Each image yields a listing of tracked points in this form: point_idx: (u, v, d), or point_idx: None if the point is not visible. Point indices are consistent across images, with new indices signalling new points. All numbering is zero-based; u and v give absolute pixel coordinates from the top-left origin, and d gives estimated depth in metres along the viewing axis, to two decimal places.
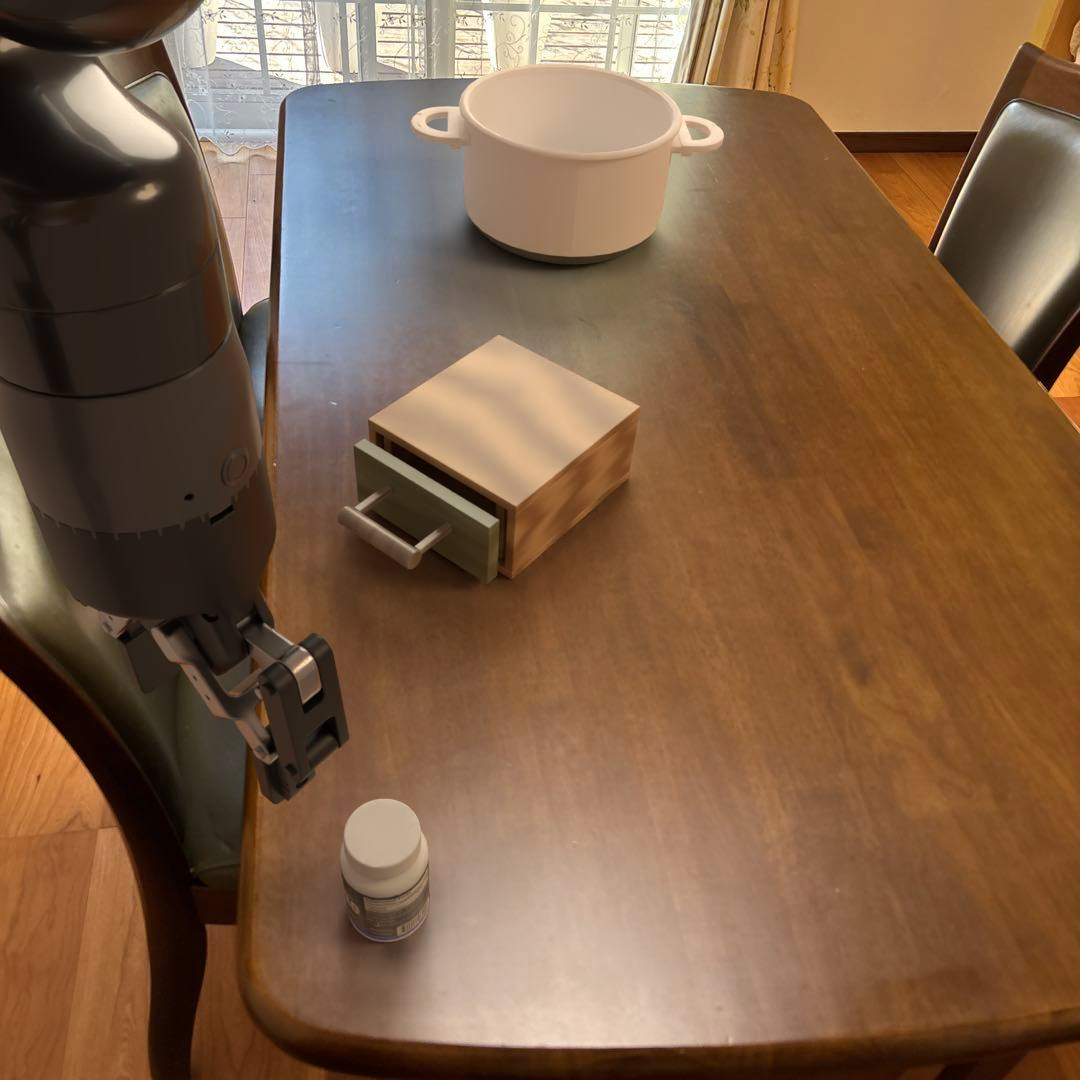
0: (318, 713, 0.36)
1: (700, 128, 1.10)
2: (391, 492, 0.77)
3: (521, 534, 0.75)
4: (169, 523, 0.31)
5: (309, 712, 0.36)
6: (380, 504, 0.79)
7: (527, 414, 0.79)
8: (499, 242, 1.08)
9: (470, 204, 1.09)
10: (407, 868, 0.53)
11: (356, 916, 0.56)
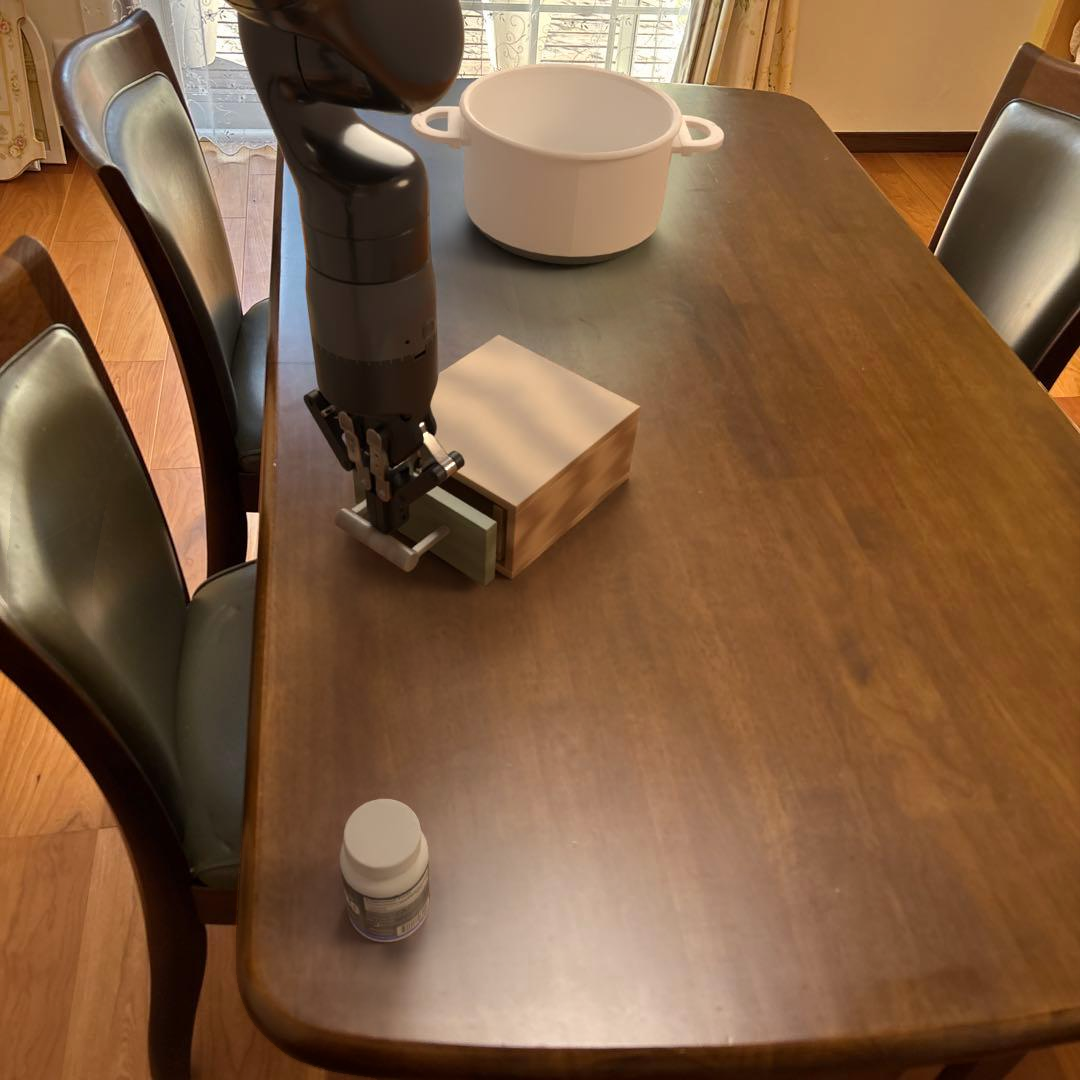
0: None
1: (700, 128, 1.10)
2: None
3: (521, 534, 0.75)
4: (396, 356, 0.59)
5: None
6: None
7: (527, 414, 0.79)
8: (499, 242, 1.08)
9: (470, 204, 1.09)
10: (407, 868, 0.53)
11: (356, 916, 0.56)
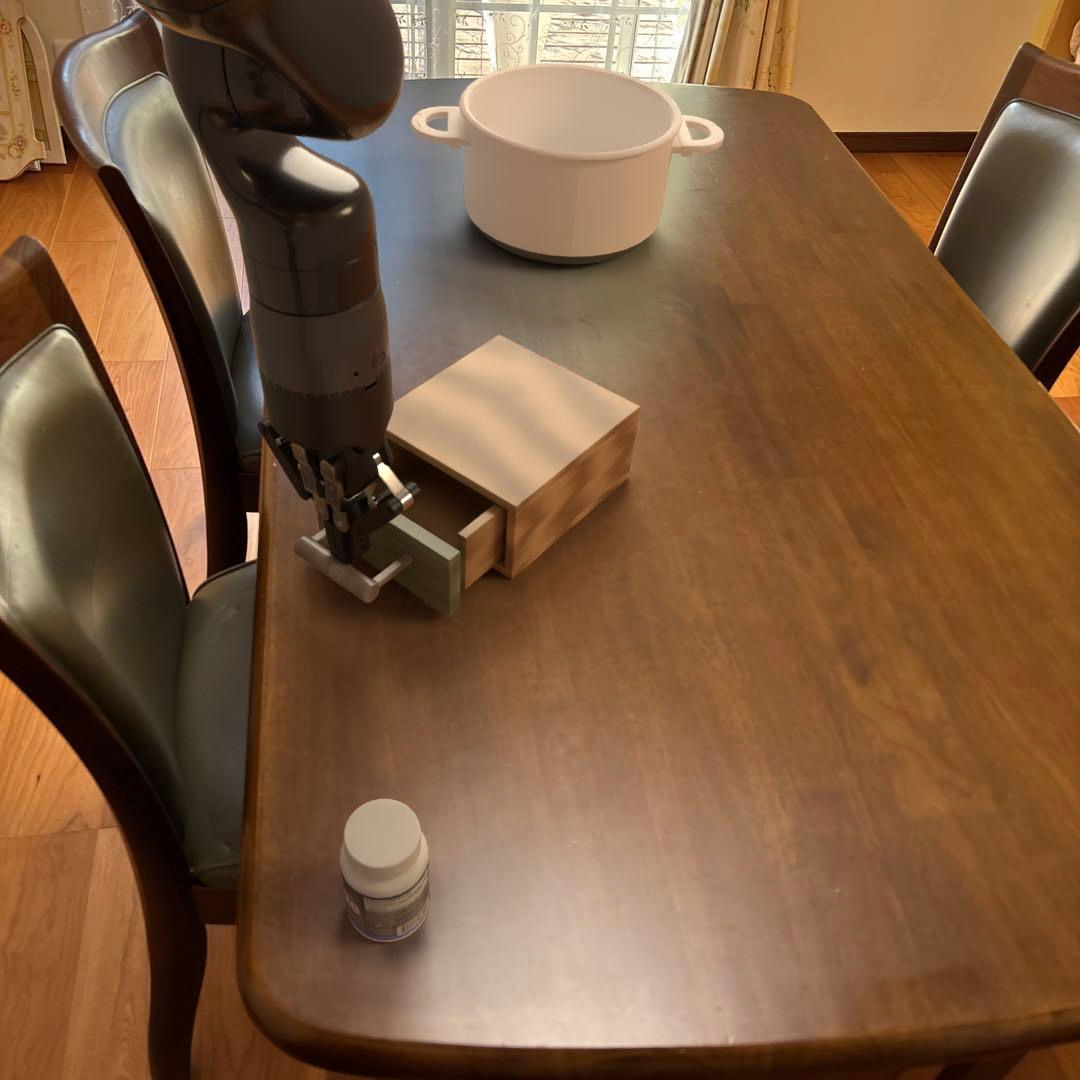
0: None
1: (700, 128, 1.10)
2: None
3: (521, 534, 0.75)
4: (345, 389, 0.56)
5: None
6: None
7: (527, 414, 0.79)
8: (499, 242, 1.08)
9: (470, 204, 1.09)
10: (407, 868, 0.53)
11: (356, 916, 0.56)
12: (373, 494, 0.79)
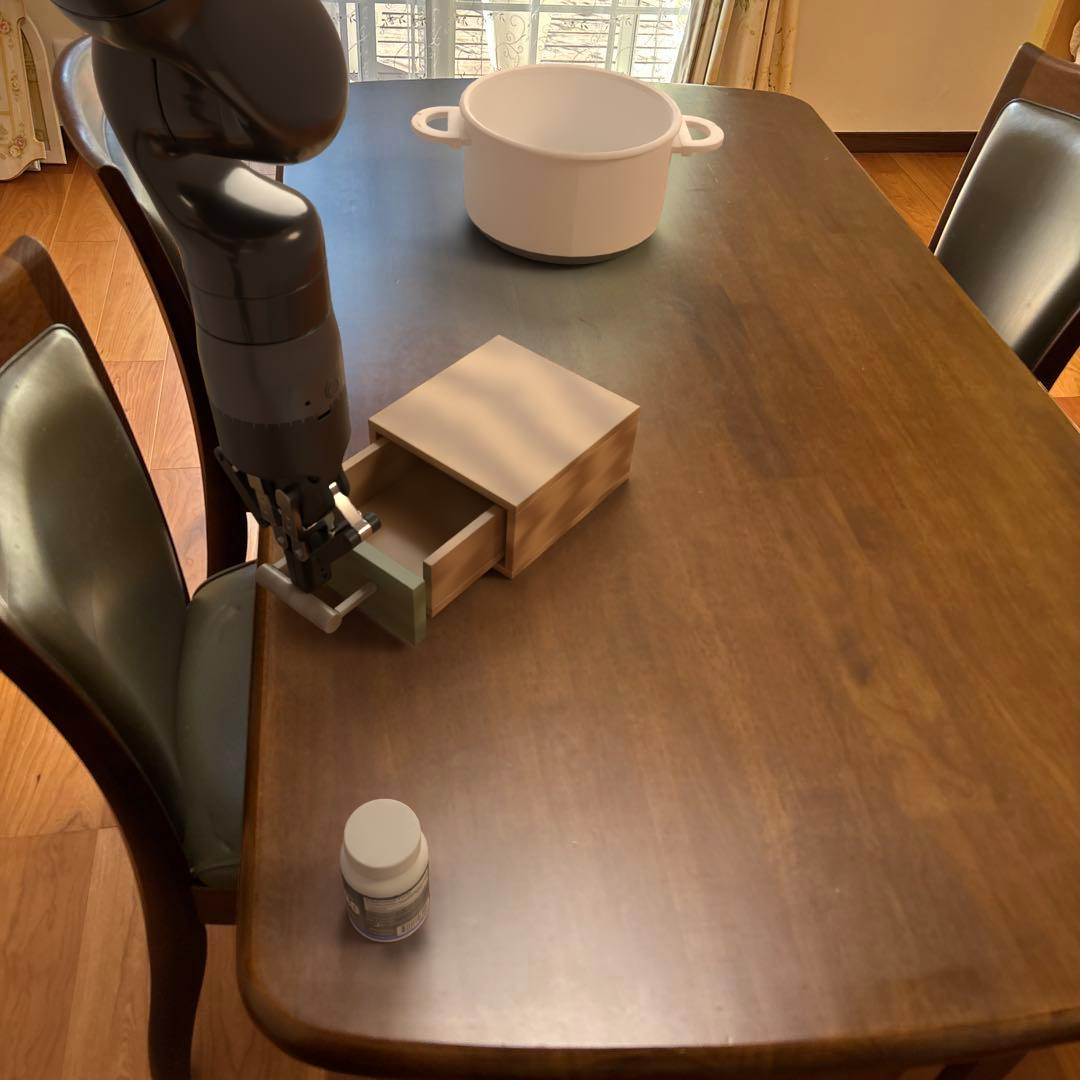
0: None
1: (700, 128, 1.10)
2: None
3: (521, 534, 0.75)
4: (296, 418, 0.54)
5: None
6: None
7: (527, 414, 0.79)
8: (499, 242, 1.08)
9: (470, 204, 1.09)
10: (407, 868, 0.53)
11: (356, 916, 0.56)
12: None
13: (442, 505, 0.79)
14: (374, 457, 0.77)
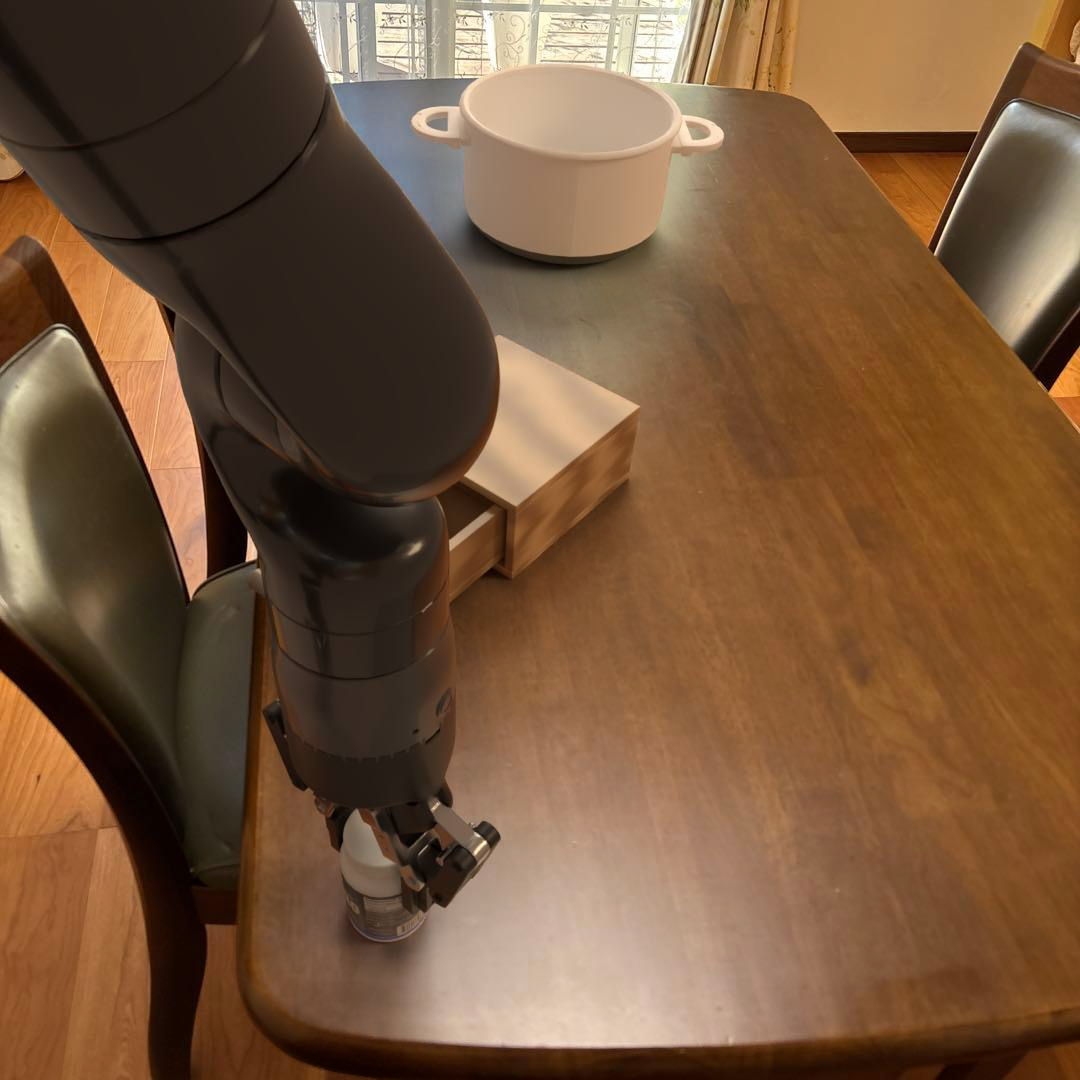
0: (474, 871, 0.48)
1: (700, 128, 1.10)
2: None
3: (521, 534, 0.75)
4: (399, 749, 0.41)
5: (471, 874, 0.48)
6: None
7: (527, 414, 0.79)
8: (499, 242, 1.08)
9: (470, 204, 1.09)
10: None
11: (356, 916, 0.56)
12: None
13: None
14: None
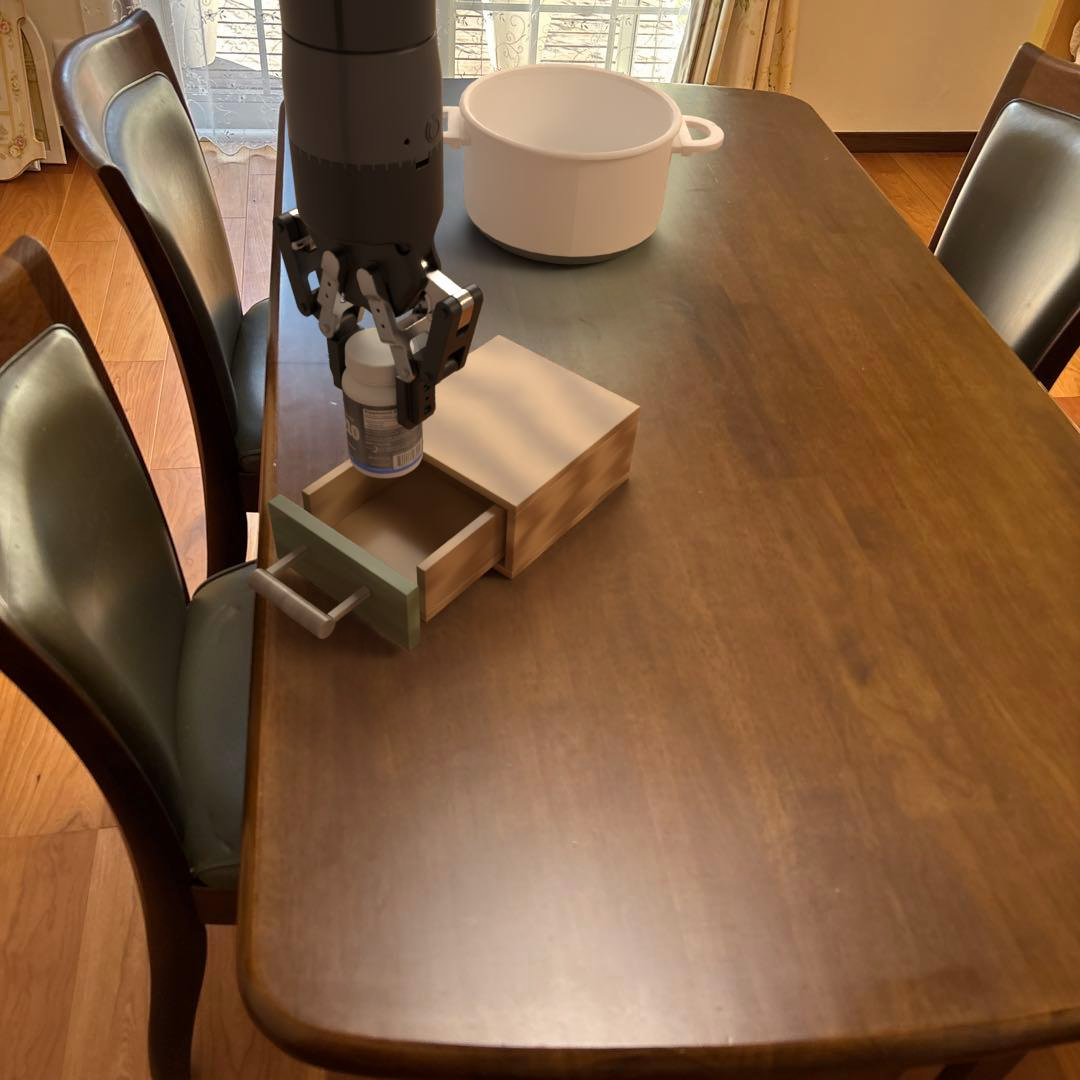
0: (460, 340, 0.54)
1: (700, 128, 1.10)
2: (308, 552, 0.72)
3: (521, 534, 0.75)
4: (393, 160, 0.48)
5: (457, 337, 0.54)
6: (299, 563, 0.74)
7: (527, 414, 0.79)
8: (499, 242, 1.08)
9: (470, 204, 1.09)
10: None
11: (356, 445, 0.62)
12: (334, 522, 0.77)
13: (437, 509, 0.79)
14: None
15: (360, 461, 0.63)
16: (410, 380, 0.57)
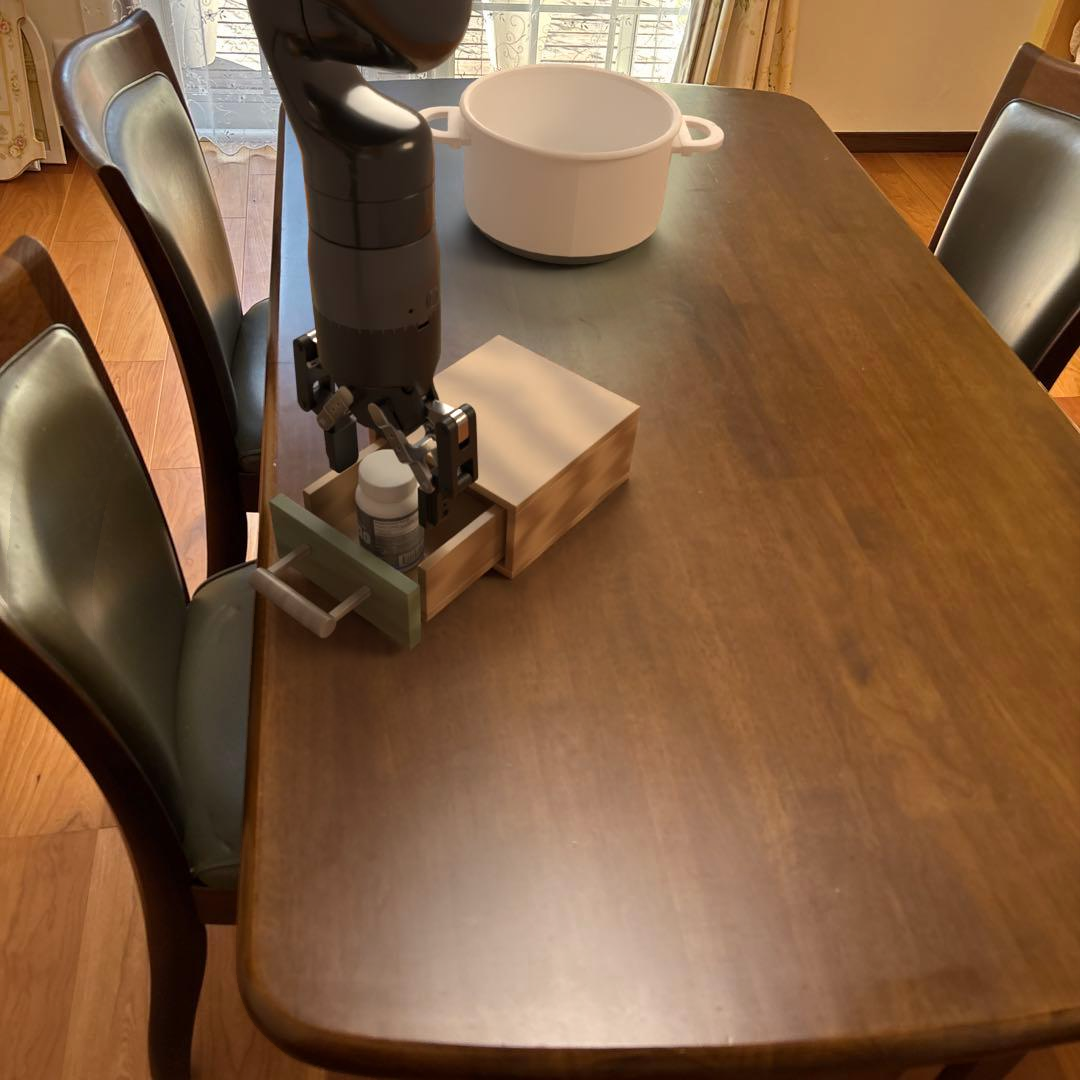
0: (465, 453, 0.63)
1: (700, 128, 1.10)
2: (309, 551, 0.72)
3: (521, 534, 0.75)
4: (399, 325, 0.58)
5: (461, 450, 0.63)
6: (300, 562, 0.74)
7: (527, 414, 0.79)
8: (499, 242, 1.08)
9: (470, 204, 1.09)
10: (406, 494, 0.69)
11: (367, 547, 0.73)
12: (335, 521, 0.77)
13: None
14: None
15: None
16: (430, 492, 0.66)
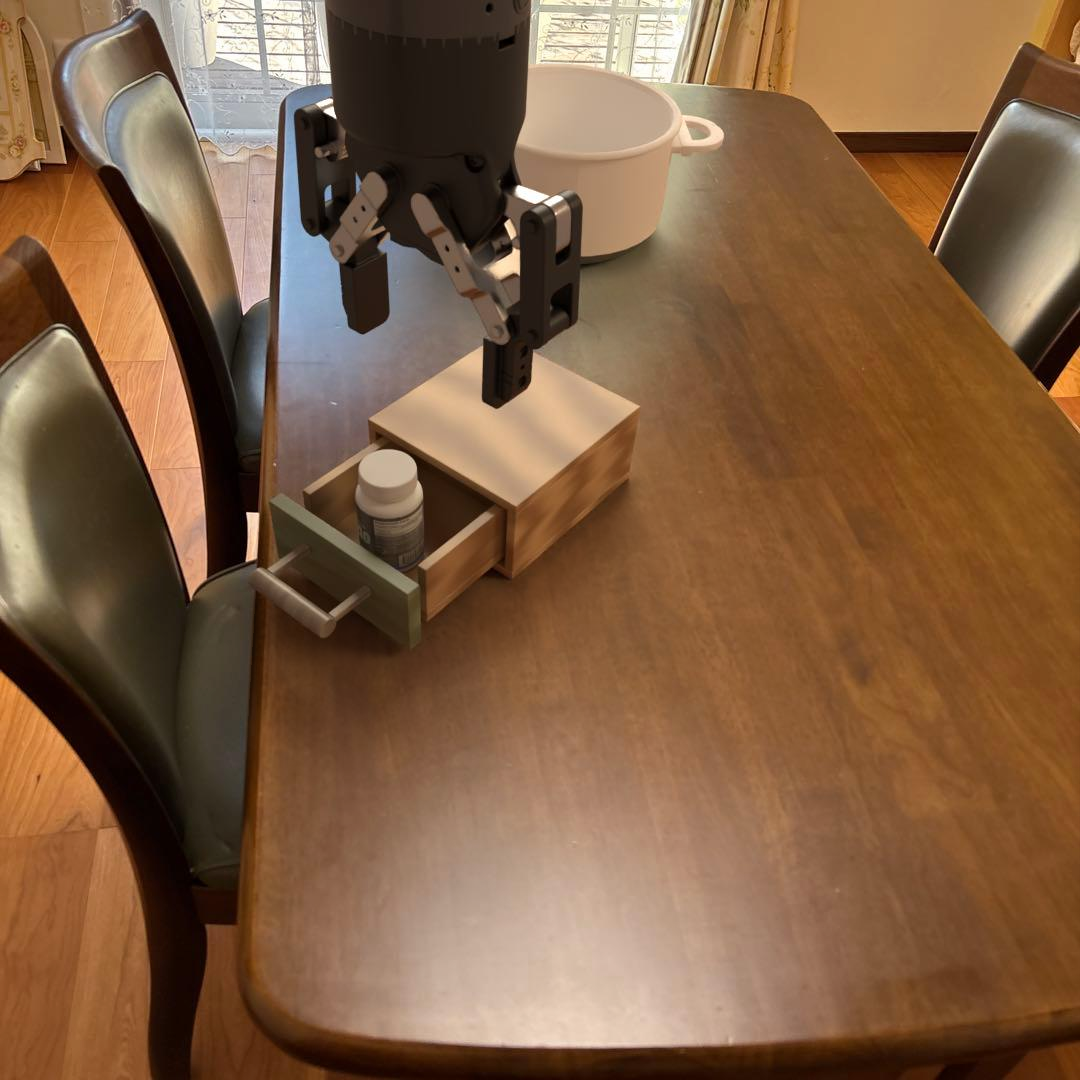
0: (563, 271, 0.40)
1: (700, 128, 1.10)
2: (309, 551, 0.72)
3: (521, 534, 0.75)
4: (470, 33, 0.35)
5: (558, 265, 0.40)
6: (300, 562, 0.74)
7: (527, 414, 0.79)
8: None
9: None
10: (406, 494, 0.69)
11: (367, 547, 0.73)
12: (335, 521, 0.77)
13: (437, 508, 0.79)
14: None
15: None
16: (505, 342, 0.43)
